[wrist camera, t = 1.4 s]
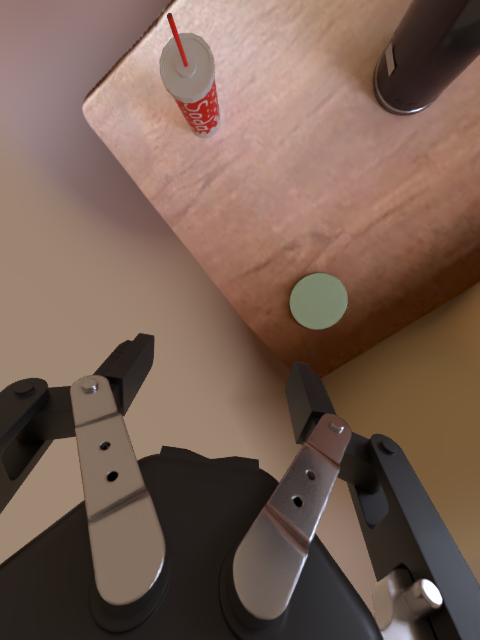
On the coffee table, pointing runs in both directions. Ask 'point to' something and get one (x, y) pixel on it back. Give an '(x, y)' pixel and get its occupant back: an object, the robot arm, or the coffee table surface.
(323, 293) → the coaster
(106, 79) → the coffee table surface
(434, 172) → the coffee table surface
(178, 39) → the beverage cup
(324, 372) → the coffee table surface
